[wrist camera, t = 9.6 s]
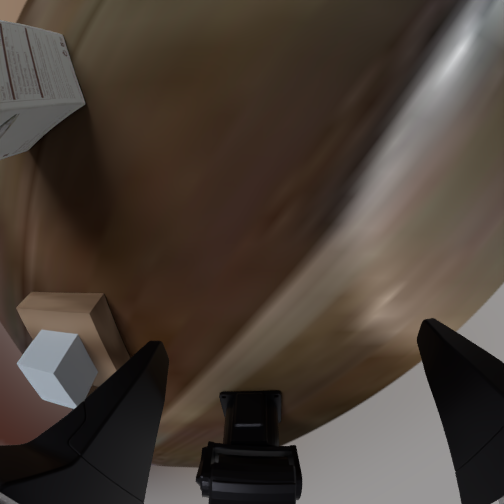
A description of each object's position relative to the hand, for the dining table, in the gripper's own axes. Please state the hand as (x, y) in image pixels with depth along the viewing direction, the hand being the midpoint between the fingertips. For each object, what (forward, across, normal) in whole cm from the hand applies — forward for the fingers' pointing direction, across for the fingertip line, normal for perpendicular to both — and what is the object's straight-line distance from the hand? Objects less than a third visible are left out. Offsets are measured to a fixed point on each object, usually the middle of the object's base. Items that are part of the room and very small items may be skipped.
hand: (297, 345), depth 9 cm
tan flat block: (+12, +20, +10) cm, 26 cm away
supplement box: (+12, +17, -12) cm, 24 cm away
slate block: (+9, +20, +10) cm, 25 cm away
